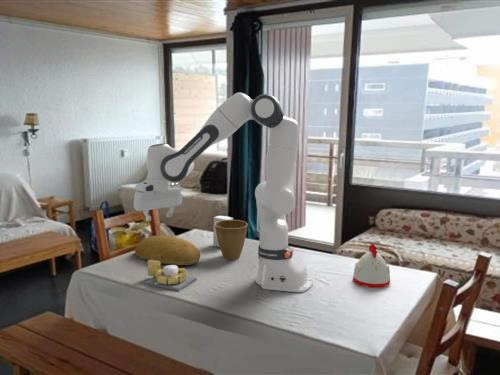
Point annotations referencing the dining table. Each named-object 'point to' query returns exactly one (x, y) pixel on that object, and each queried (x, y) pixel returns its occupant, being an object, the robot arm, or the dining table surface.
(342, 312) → the dining table surface
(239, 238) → the plant pot
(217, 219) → the skincare box
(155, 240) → the bread
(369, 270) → the white knit hat
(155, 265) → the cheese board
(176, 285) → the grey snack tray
